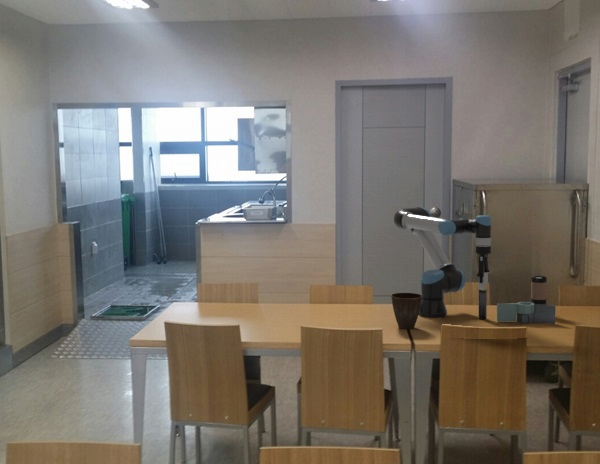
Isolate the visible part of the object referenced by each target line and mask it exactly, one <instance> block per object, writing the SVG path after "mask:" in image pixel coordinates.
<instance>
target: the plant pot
mask: <svg viewBox="0 0 600 464" xmlns="http://www.w3.org/2000/svg"><path fill="white" fill-rule="evenodd" d="M390 296H391V303H392V309H393V313H394V314H393V315H394V317H395V318H394V319H395V320H396V323H397V327H398V328H399V329H402V330H412V329H414V328H415V327H416V323H417V320H418V317H419V311H420V306H421V301H422V295H421V294H420V293H416V292H415V293H414V292H396V293H391V295H390Z"/></svg>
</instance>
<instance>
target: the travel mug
mask: <svg viewBox="0 0 600 464" xmlns="http://www.w3.org/2000/svg"><path fill="white" fill-rule="evenodd" d="M530 280H531V281H530V282H531V283H530V303H534V304H544V305H547V286H548V283H547V281H548V278H547V277H546V276H544V275H535V276H531V279H530Z"/></svg>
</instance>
